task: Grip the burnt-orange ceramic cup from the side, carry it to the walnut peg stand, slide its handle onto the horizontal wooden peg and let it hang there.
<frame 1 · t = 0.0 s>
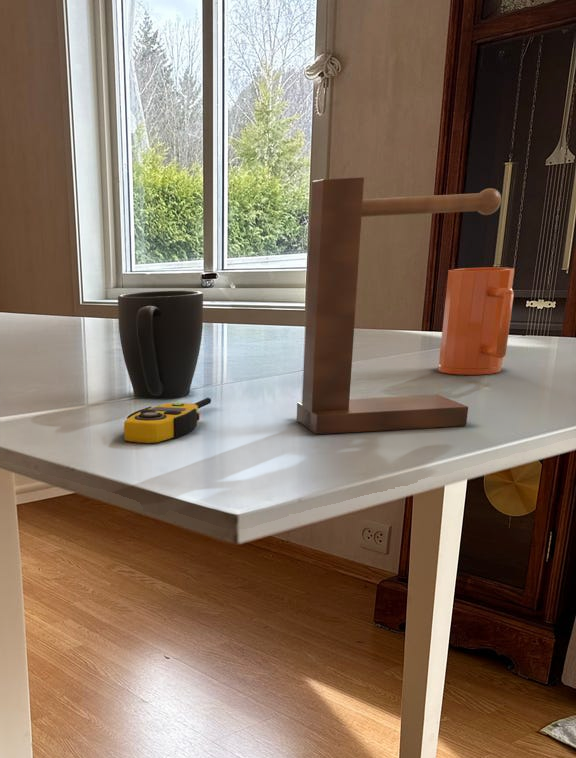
yellow walkie talkie: (176, 427, 78), on the table
cup: (469, 370, 97), on the table
mug: (157, 399, 91), on the table
stand: (378, 422, 75), on the table
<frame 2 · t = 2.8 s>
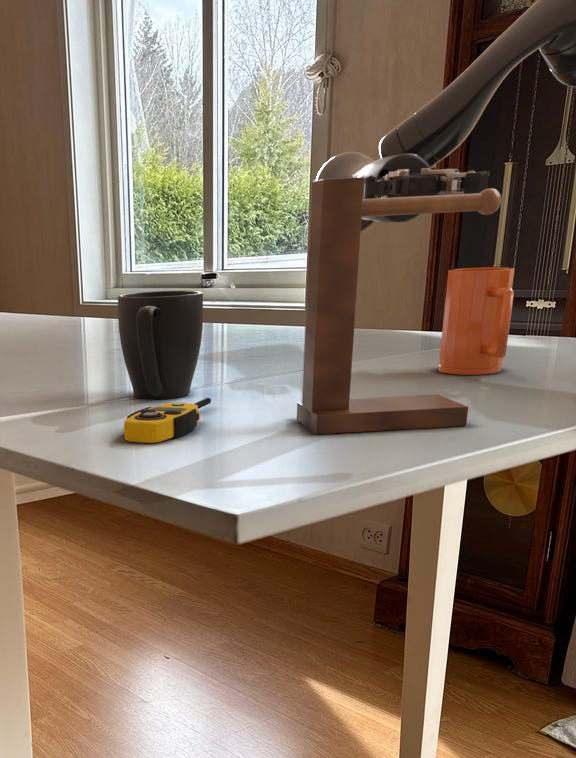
hand: (444, 184, 100), 18 cm above the table, tool horizontal, fingers open, 8 cm apart
nothing on the table moved.
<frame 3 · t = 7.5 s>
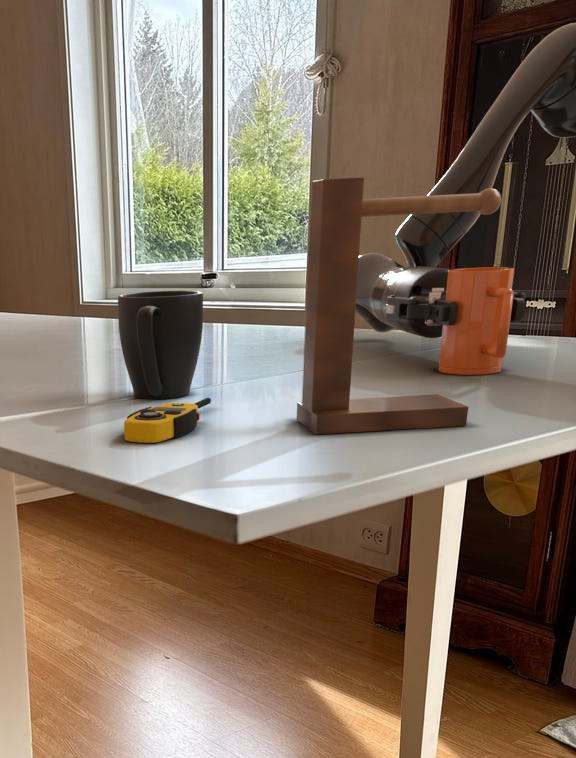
hand: (486, 312, 92), 6 cm above the table, tool horizontal, fingers closed on cup, 6 cm apart
cup: (469, 370, 97), on the table, touching gripper
everything else where it was.
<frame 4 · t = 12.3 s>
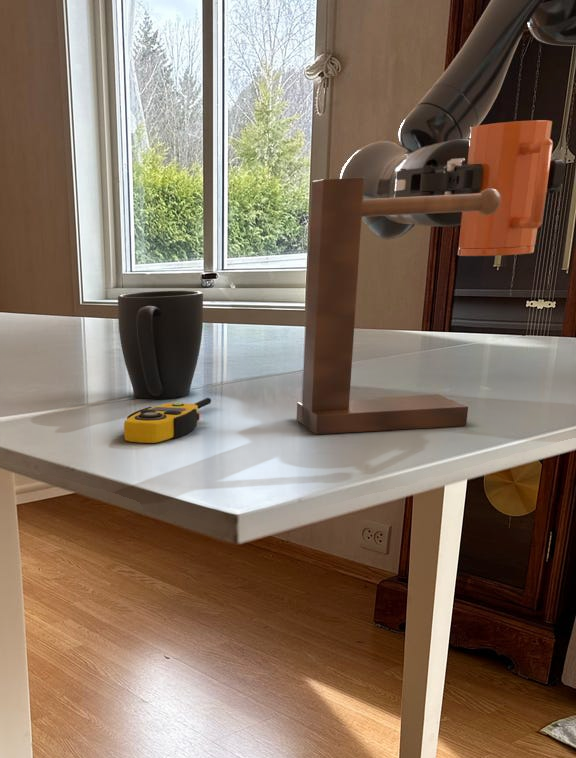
hand: (517, 176, 76), 18 cm above the table, tool horizontal, fingers closed on cup, 6 cm apart
cup: (495, 253, 81), point 12 cm above the table, touching gripper
everything else where it was.
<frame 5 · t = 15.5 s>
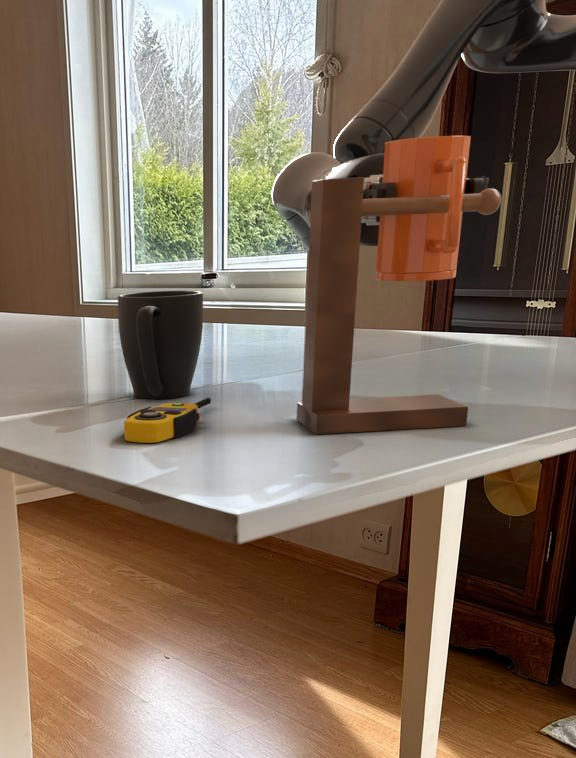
hand: (434, 196, 70), 17 cm above the table, tool horizontal, fingers closed on cup, 6 cm apart
cup: (415, 278, 75), point 11 cm above the table, touching gripper
everything else where it was.
when the fingers open (15 cm above the table, at t = 17.3 s): cup moves 10 cm and tips over, resting on stand.
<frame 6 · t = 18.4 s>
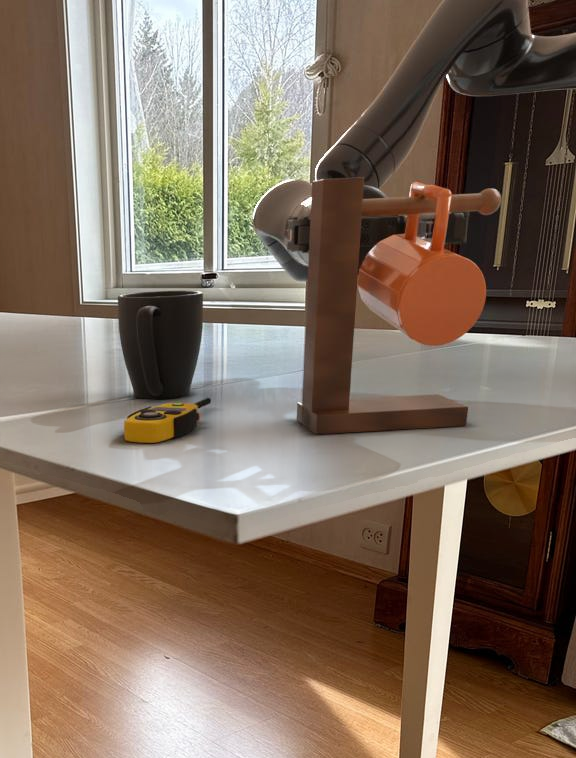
hand: (405, 230, 72), 14 cm above the table, tool horizontal, fingers open, 8 cm apart
cup: (443, 301, 65), point 10 cm above the table, tilted 82°, touching stand
everything else where it was.
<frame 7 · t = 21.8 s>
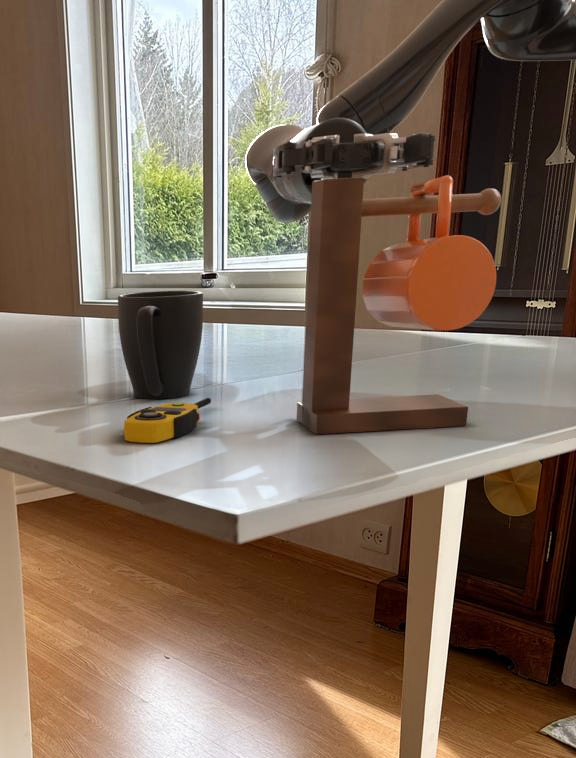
hand: (377, 149, 80), 21 cm above the table, tool horizontal, fingers open, 8 cm apart
cup: (452, 283, 64), point 11 cm above the table, tilted 93°, touching stand
everything else where it was.
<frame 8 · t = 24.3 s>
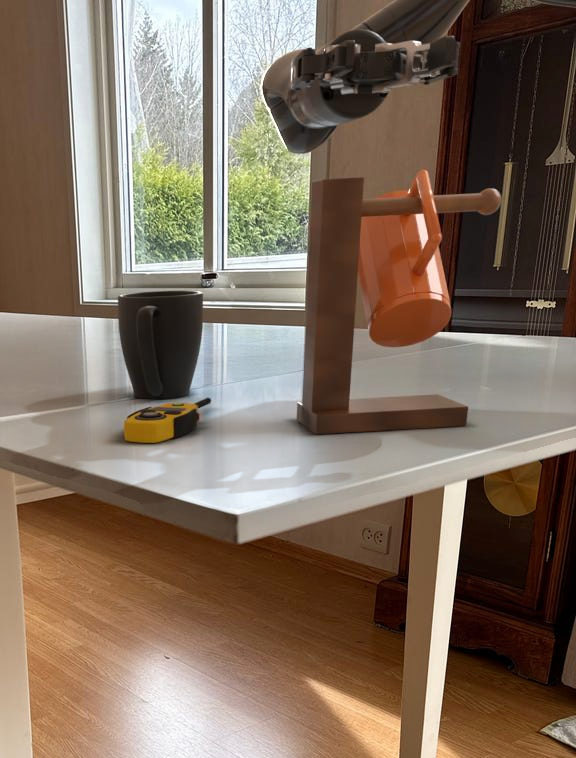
hand: (400, 52, 78), 28 cm above the table, tool horizontal, fingers open, 8 cm apart
cup: (409, 324, 72), point 8 cm above the table, tilted 41°, touching stand
everything else where it was.
at the end: cup inside the target area on the stand (4.5 cm from its centre), point 7.6 cm above the stand's base; cup touching stand; the gripper is holding nothing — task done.
